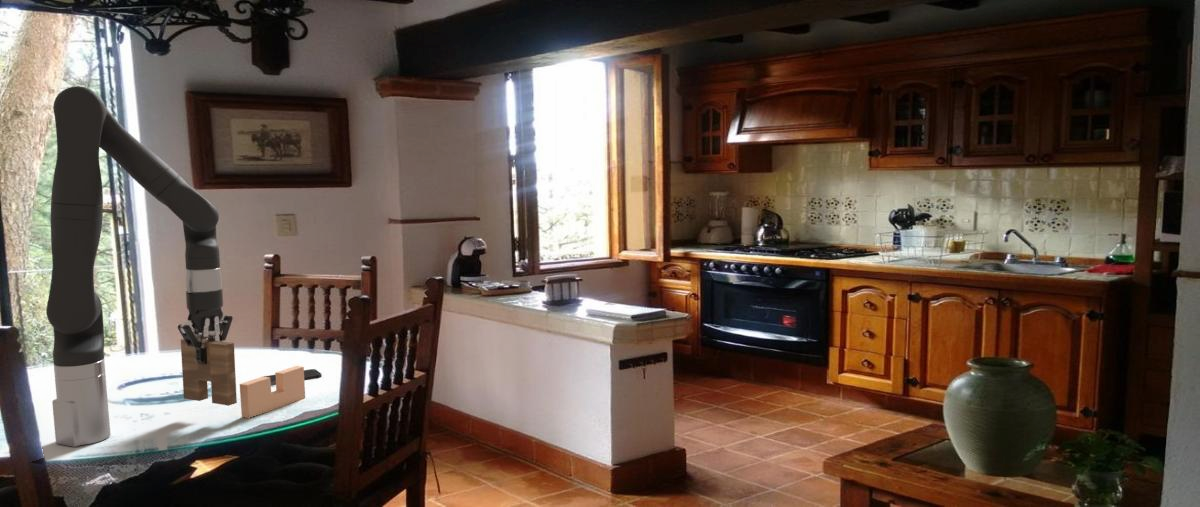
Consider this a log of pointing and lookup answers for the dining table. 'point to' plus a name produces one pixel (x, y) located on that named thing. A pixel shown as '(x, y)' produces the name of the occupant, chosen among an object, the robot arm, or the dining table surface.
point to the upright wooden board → (210, 373)
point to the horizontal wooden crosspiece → (263, 400)
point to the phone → (307, 375)
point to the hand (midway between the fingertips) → (207, 362)
